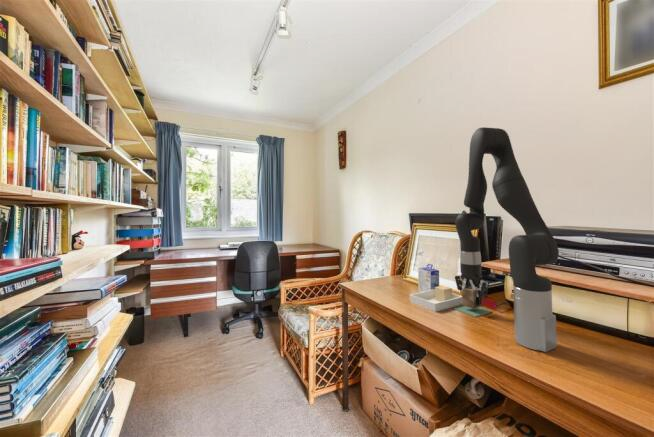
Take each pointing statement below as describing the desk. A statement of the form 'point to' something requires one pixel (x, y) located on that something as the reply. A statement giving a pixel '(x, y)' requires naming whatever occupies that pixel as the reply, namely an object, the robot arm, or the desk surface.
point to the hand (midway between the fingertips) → (471, 303)
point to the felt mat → (472, 311)
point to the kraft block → (443, 293)
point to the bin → (429, 301)
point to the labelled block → (469, 298)
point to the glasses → (490, 303)
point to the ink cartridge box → (427, 278)
